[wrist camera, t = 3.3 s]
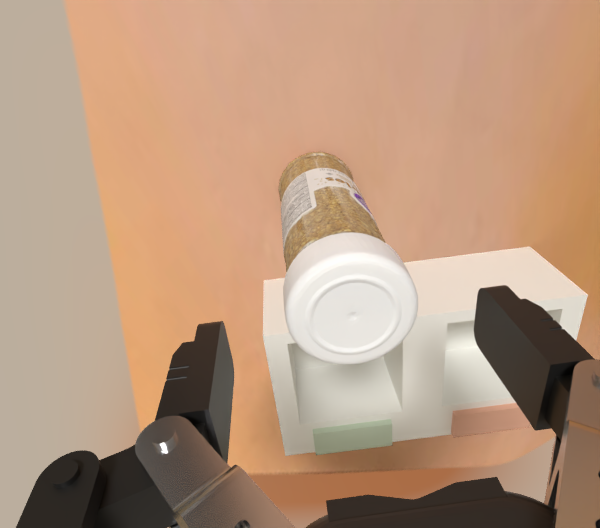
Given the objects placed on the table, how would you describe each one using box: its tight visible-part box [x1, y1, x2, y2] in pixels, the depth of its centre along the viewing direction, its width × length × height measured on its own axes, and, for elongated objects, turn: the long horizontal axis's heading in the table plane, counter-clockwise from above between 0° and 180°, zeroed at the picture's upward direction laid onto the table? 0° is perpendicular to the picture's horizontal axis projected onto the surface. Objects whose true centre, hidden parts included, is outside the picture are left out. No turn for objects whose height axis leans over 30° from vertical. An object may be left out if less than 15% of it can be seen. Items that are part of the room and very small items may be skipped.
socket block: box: [263, 247, 588, 456], centre depth 29 cm, size 18×10×6 cm, turn 96°
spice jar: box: [279, 152, 418, 365], centre depth 20 cm, size 5×5×14 cm
